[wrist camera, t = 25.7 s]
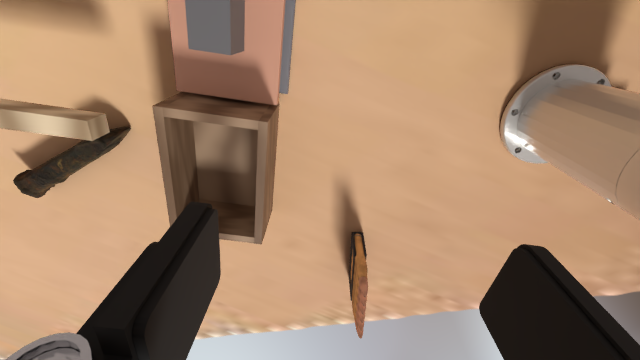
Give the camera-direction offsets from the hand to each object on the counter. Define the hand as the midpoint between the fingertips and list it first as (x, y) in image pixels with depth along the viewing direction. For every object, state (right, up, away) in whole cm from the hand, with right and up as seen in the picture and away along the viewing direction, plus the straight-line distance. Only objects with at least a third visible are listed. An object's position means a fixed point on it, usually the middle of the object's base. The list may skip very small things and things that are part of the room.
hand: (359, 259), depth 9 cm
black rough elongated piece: (-36, +7, +33) cm, 49 cm away
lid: (-11, +21, +23) cm, 33 cm away
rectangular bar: (-30, +9, +20) cm, 37 cm away
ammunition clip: (+5, -11, +41) cm, 42 cm away
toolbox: (-14, +6, +32) cm, 35 cm away
